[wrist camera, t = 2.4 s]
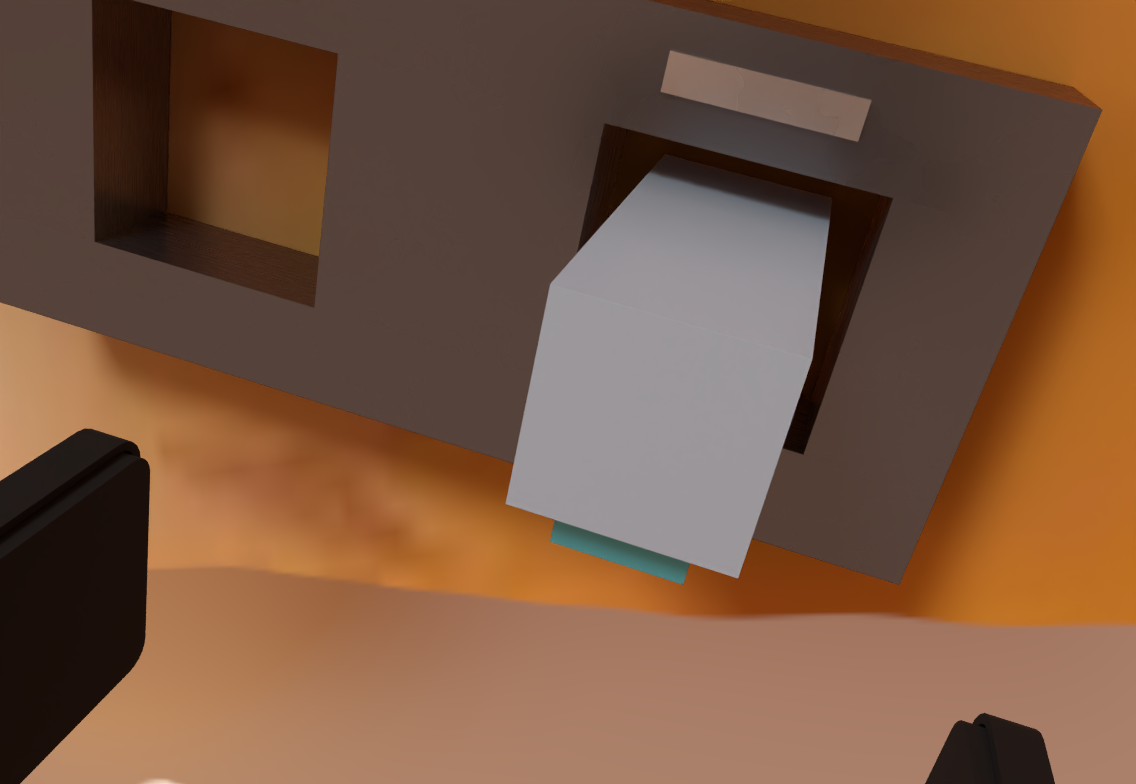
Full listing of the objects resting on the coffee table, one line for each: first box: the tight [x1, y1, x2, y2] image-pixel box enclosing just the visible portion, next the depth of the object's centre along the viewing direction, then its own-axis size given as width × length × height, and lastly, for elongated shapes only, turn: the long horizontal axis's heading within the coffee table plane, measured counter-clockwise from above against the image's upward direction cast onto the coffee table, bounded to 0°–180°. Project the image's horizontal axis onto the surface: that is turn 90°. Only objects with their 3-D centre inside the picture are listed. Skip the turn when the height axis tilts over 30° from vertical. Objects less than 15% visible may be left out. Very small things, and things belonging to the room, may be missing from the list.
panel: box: [0, 0, 1102, 585], centre depth 24 cm, size 24×11×3 cm, turn 78°
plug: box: [506, 154, 832, 585], centre depth 21 cm, size 4×5×10 cm
